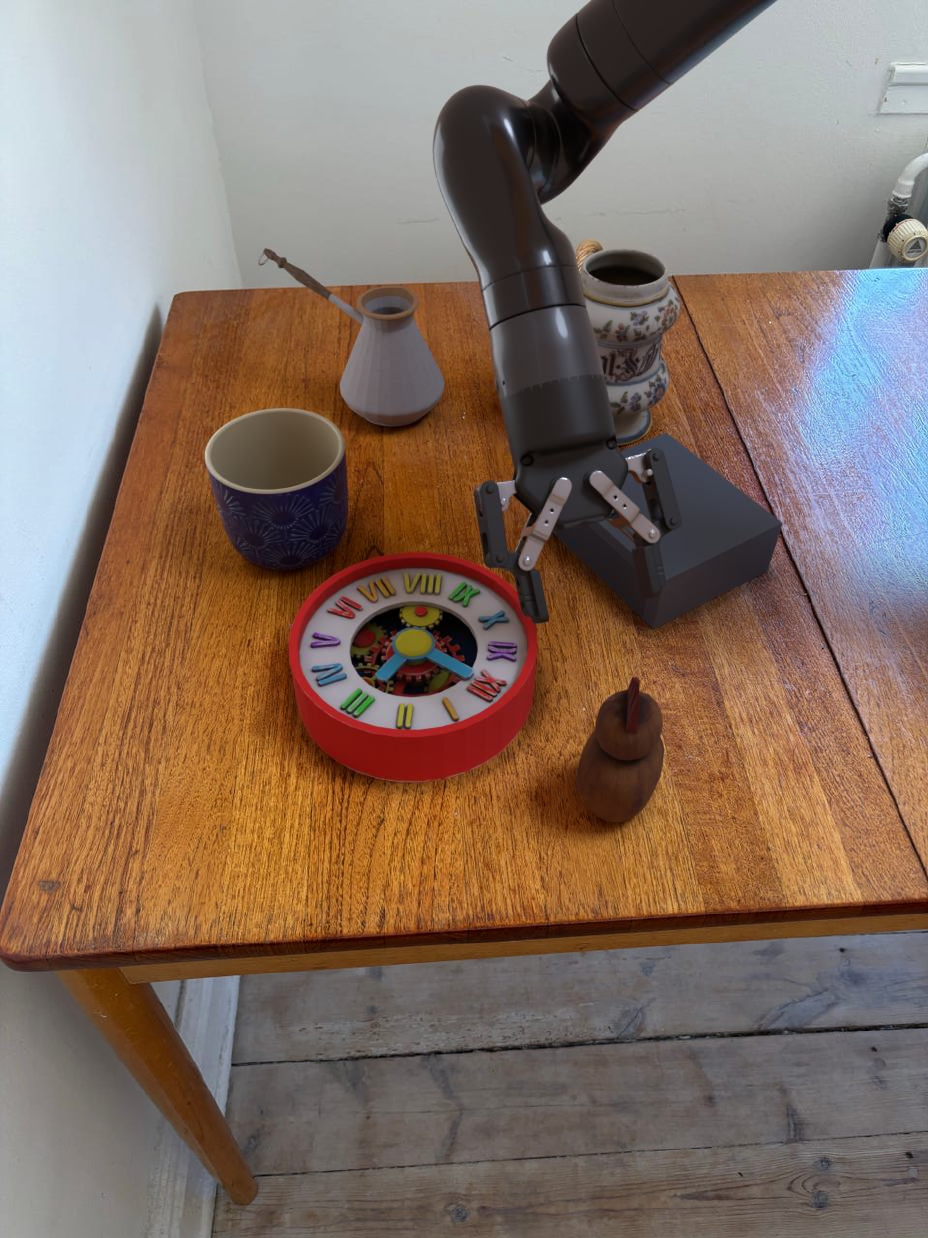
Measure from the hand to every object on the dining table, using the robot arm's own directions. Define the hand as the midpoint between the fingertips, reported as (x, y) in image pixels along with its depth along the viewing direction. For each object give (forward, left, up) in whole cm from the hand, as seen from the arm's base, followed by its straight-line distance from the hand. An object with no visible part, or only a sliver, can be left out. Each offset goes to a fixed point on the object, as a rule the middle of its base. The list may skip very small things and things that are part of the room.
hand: (597, 609), depth 72 cm
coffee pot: (-7, -51, -14) cm, 54 cm away
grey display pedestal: (-19, -13, -14) cm, 27 cm away
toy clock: (+9, -11, -14) cm, 20 cm away
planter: (+10, -33, -14) cm, 37 cm away
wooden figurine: (+2, +7, -14) cm, 16 cm away
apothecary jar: (-28, -32, -14) cm, 45 cm away
